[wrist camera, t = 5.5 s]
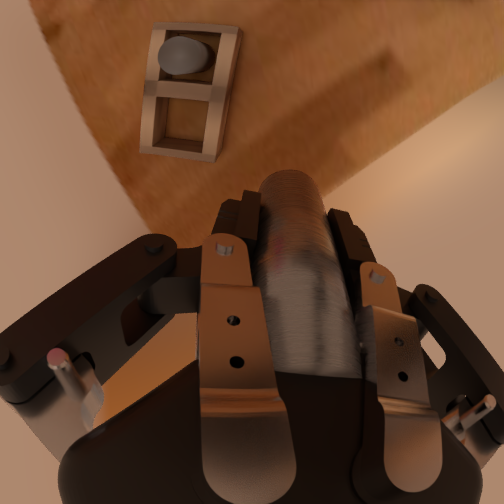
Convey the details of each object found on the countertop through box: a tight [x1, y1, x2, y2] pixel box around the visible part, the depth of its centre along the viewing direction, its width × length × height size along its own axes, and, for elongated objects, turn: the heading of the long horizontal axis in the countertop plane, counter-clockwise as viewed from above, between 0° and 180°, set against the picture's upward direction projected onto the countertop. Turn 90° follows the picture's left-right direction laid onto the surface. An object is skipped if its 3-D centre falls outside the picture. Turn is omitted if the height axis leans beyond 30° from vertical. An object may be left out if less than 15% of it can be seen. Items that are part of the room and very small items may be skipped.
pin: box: [250, 170, 362, 378], centre depth 10 cm, size 3×3×10 cm
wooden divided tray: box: [139, 22, 243, 163], centre depth 21 cm, size 12×7×6 cm, turn 169°
